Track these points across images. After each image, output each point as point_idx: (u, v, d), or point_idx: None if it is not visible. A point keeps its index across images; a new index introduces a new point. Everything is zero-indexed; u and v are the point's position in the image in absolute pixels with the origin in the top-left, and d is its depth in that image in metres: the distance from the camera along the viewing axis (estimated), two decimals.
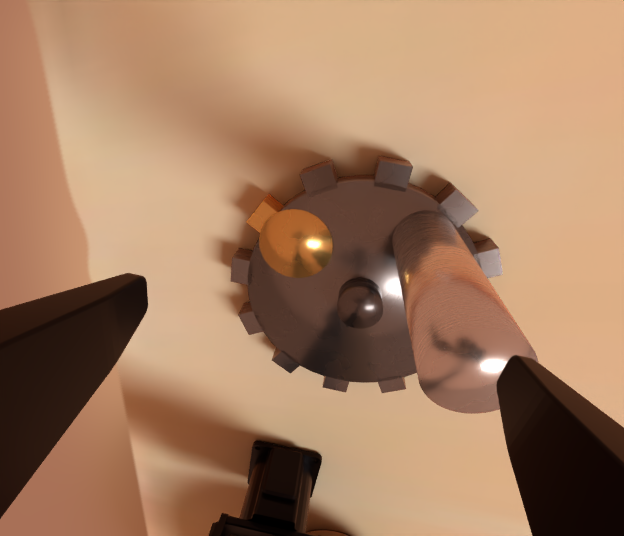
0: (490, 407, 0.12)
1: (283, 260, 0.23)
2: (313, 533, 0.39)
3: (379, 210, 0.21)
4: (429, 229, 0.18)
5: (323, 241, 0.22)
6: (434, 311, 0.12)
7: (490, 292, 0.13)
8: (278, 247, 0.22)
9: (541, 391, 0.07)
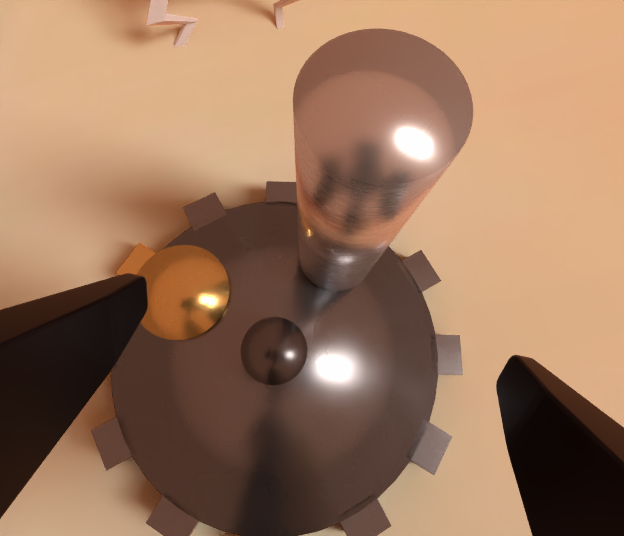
0: (435, 159, 0.07)
1: (164, 316, 0.17)
2: None
3: (277, 231, 0.18)
4: None
5: (216, 279, 0.17)
6: None
7: None
8: (157, 298, 0.17)
9: (541, 391, 0.07)
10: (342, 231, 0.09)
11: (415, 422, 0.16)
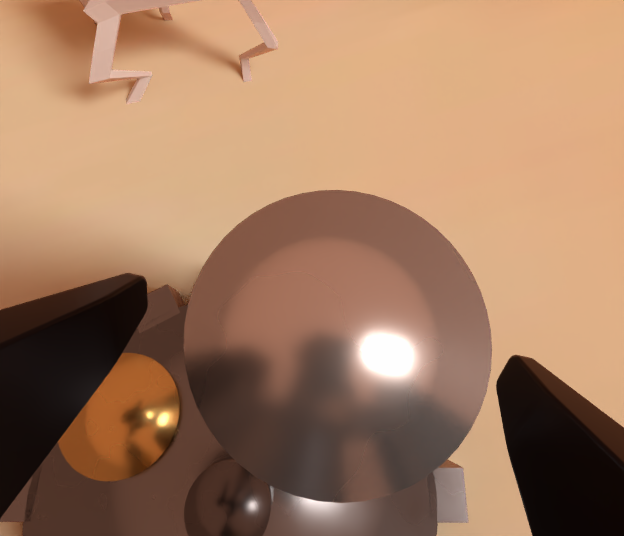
0: (429, 447, 0.04)
1: (96, 448, 0.13)
2: None
3: None
4: None
5: (164, 398, 0.14)
6: None
7: None
8: (89, 424, 0.14)
9: (541, 391, 0.07)
10: None
11: None
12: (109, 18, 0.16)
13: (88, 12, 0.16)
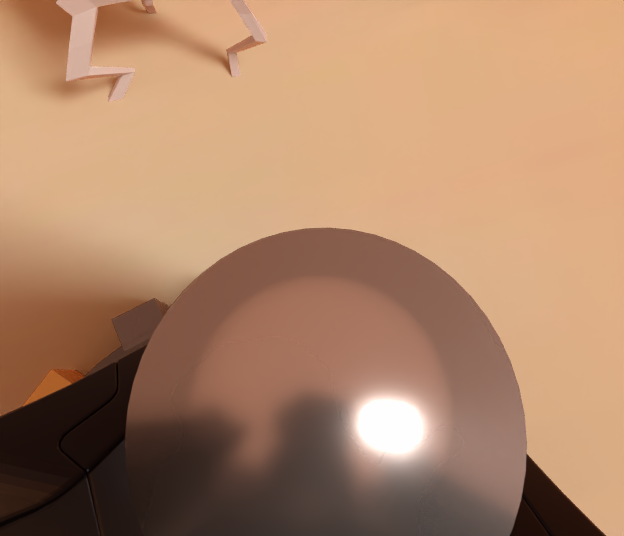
0: None
1: None
2: None
3: None
4: None
5: None
6: None
7: None
8: None
9: None
10: None
11: None
12: (85, 11, 0.15)
13: (62, 4, 0.15)
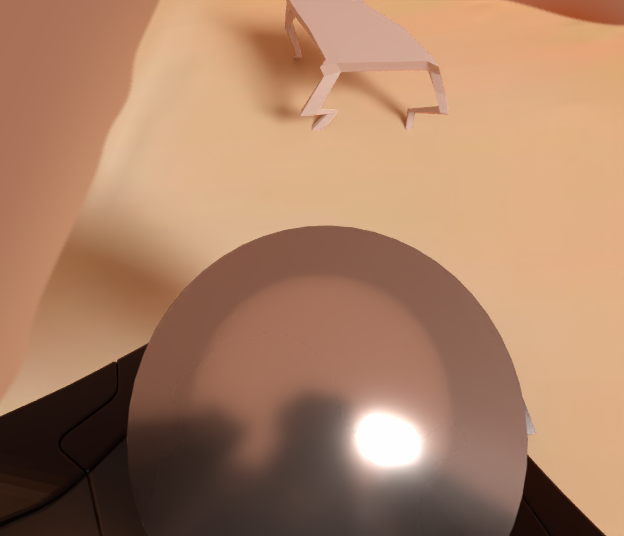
0: None
1: None
2: None
3: None
4: None
5: None
6: None
7: None
8: None
9: None
10: None
11: None
12: (333, 73, 0.21)
13: (323, 68, 0.21)
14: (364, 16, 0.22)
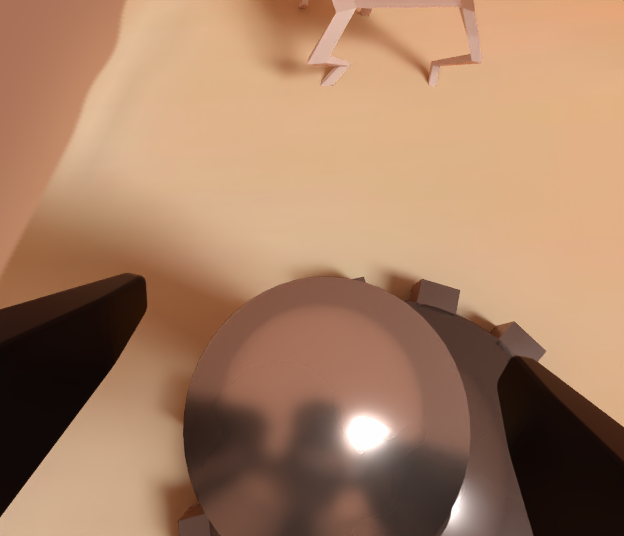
0: (410, 533, 0.04)
1: None
2: None
3: None
4: None
5: None
6: None
7: None
8: None
9: (542, 391, 0.07)
10: None
11: None
12: (347, 10, 0.18)
13: (335, 2, 0.17)
14: None
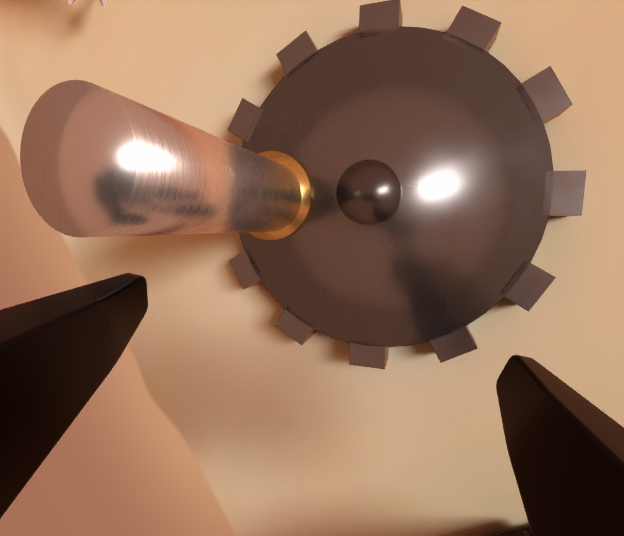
0: (128, 167, 0.08)
1: None
2: None
3: (312, 92, 0.18)
4: None
5: None
6: None
7: None
8: None
9: (541, 391, 0.07)
10: (184, 228, 0.11)
11: (538, 179, 0.15)
12: None
13: None
14: None
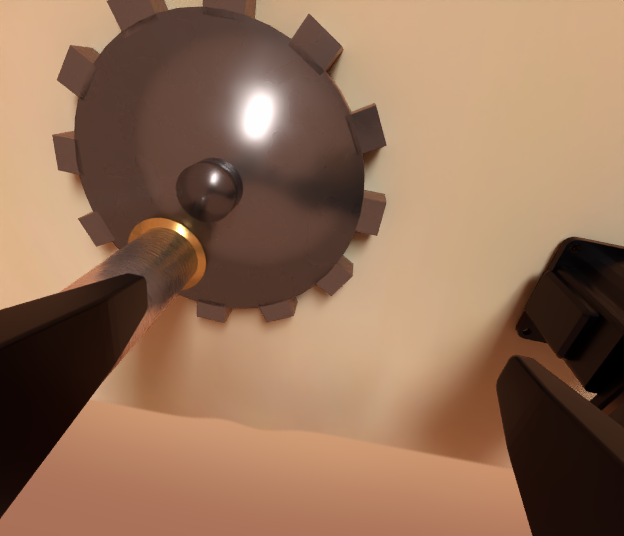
0: None
1: None
2: None
3: (106, 167, 0.19)
4: None
5: (155, 227, 0.20)
6: None
7: None
8: None
9: (541, 391, 0.07)
10: None
11: (290, 56, 0.15)
12: None
13: None
14: None
